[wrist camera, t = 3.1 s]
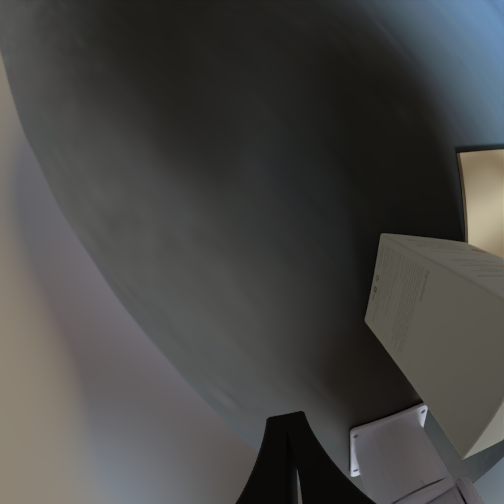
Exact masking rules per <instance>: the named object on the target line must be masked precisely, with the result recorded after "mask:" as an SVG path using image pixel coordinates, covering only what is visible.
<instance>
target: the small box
mask: <svg viewBox="0 0 504 504" xmlns="http://www.w3.org/2000/svg"><path fill="white" fill-rule="evenodd" d="M365 322H366V324H367V325H368V326H369V328H370V329H371V330H372V332H373V333H374V334H375V335H376V337H377V338H378V339H379V341H380V342H381V343H382V345H383V346H384V348H385V349H386V350H387V352H388V353H389V354H390V356H391V357H392V359H393V360H394V361H395V363H396V364H397V365H398V367H399V368H400V369H401V371H402V372H403V373H404V375H405V376H406V378H407V379H408V381H409V382H410V383H411V385H412V386H413V388H414V389H415V390H416V392H417V393H418V395H419V396H420V397H421V399H422V400H423V402H424V403H425V405H426V406H427V407H428V409H429V410H430V412H431V413H432V415H433V416H434V418H435V419H436V421H437V422H438V424H439V425H440V427H441V428H442V430H443V431H444V432H445V434H446V436H447V437H448V439H449V440H450V442H451V443H452V445H453V446H454V448H455V450H456V451H457V453H458V454H459V456H460V458H461V459H465V458H467V457H469V456H471V455H473V454H476V453H478V452H480V451H482V450H484V449H486V448H488V447H490V446H492V445H494V444H496V443H497V442H499V441H501V440H503V439H504V258H502V257H499V256H497V255H494V254H492V253H490V252H487V251H485V250H483V249H480V248H478V247H475V246H473V245H470V244H468V243H465V242H459V241H452V240H444V239H436V238H427V237H418V236H409V235H399V234H386V233H382V234H381V235H380V241H379V247H378V254H377V259H376V266H375V271H374V277H373V282H372V287H371V292H370V297H369V302H368V307H367V312H366V316H365Z"/></svg>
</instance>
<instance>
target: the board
mask: <svg viewBox="0 0 504 504" xmlns="http://www.w3.org/2000/svg"><path fill="white" fill-rule="evenodd" d="M457 159H458V165H459V172H460V179H461V187H462V196H463V207H464V221H465V243H468V244H470V245H473V246H475V247H478V248H480V249H483V250H485V251H487V252H490V253H492V254H494V255H497V256H499V257H502V258H504V149H501V150H487V151H475V152H464V153H457Z"/></svg>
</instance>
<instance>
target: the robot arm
mask: <svg viewBox="0 0 504 504" xmlns="http://www.w3.org/2000/svg"><path fill="white" fill-rule="evenodd" d="M427 409H428V407H427V406H426V405H425V403H421V404H419V405H417V406H414V407H412V408H409V409H407V410H404V411H402V412H399V413H397V414H394V415H391V416H389V417H386V418H383V419H380V420H377V421H374V422H371V423H368V424H365V425H362V426H359V427H355V428H353V429H352V430H351V431H350V474H351V476H352V477H354V476H358V475H360V476H361V479H362V482H363V486H364V489H365V492H366V495H367V496H366V495H365V494H364V493H363V492H361V491H360V490H359V489H358V488H357V487H356V486H355V485H354V484H353V483H352V482H351V481H350V480H349V479H348V478H347V477H346V476H345V475H344V474H343V473H342V472H341V471H340V469H339V468H338V467H337V466H336V465H335V463H334V462H333V461H332V460H331V458H330V457H329V456H328V455H327V453H326V452H325V450H324V449H323V447H322V446H321V444H320V443H319V442H318V440H317V438H316V437H315V435H314V433H313V431H312V430H311V428H310V426H309V423H308V421H307V419H306V416H305V412H303V411H299V412H294V413H289V414H284V415H279V416H273V417H269V418H268V419H267V421H266V428H265V433H264V437H263V441H262V445H261V448H260V451H259V454H258V457H257V460H256V463H255V466H254V468H253V471H252V473H251V475H250V477H249V480H248V482H247V484H246V486H245V488H244V490H243V491H242V493H241V495H240V497H239V499H238V500H237V502H236V504H298V490H297V470H298V475H299V480H300V487H301V495H302V503H303V504H484V503H483V501H482V499H481V497H480V495H479V493H478V492H477V490H476V488H475V486H474V485H473V483H472V481H471V480H470V478H463V477H461V478H459V479H458V480H457V481H456V482H457V484H458V485H457V484H456V482H455V481H454V480H453V478H452V477H451V476H450V474H449V472H448V470H447V469H446V467H445V465H444V463H443V462H442V460H441V458H440V456H439V454H438V453H437V451H436V449H435V448H434V446H433V444H432V442H431V441H430V439H429V437H428V436H427V434H426V432H425V431H424V429H423V426H424V422H425V417H426V413H427ZM458 486H459V487H458ZM459 488H460V489H459Z"/></svg>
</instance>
